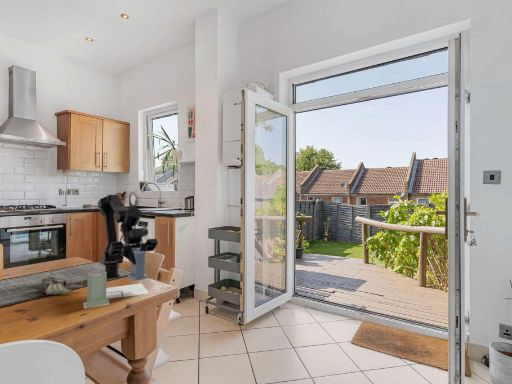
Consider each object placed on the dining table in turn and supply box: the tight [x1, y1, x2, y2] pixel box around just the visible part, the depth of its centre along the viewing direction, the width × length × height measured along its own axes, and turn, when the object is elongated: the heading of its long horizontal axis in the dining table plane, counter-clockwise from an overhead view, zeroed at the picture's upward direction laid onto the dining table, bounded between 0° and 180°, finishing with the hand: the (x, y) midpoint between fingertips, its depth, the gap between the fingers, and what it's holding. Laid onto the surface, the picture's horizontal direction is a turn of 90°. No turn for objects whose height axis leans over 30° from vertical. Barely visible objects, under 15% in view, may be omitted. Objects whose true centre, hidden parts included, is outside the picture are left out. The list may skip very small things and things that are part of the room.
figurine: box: [22, 275, 84, 296], centre depth 119 cm, size 20×6×17 cm
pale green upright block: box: [86, 271, 108, 307], centre depth 107 cm, size 6×4×11 cm, turn 122°
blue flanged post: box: [127, 249, 148, 282], centre depth 120 cm, size 6×6×11 cm
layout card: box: [82, 282, 150, 310], centre depth 117 cm, size 21×23×1 cm
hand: (139, 263), depth 119 cm, fingers closed on blue flanged post, 3 cm apart
